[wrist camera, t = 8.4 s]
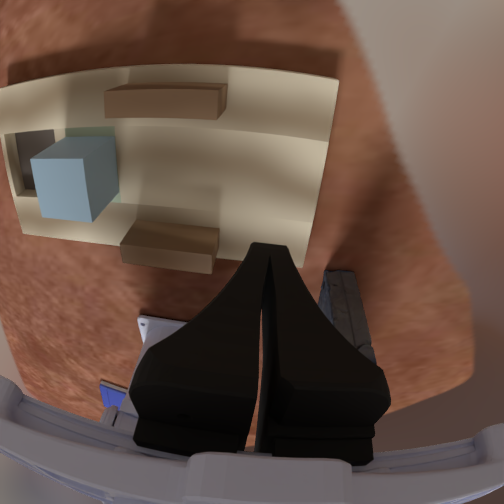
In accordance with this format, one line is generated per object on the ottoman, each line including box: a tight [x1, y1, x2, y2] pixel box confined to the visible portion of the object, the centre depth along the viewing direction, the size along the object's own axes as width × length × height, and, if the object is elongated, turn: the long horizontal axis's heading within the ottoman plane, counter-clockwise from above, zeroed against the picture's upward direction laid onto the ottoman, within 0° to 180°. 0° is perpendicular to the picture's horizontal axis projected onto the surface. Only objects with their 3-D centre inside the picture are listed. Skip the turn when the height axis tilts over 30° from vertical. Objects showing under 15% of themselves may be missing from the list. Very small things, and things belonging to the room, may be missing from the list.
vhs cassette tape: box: [318, 270, 377, 365], centre depth 26 cm, size 18×3×10 cm, turn 178°
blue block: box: [30, 136, 119, 223], centre depth 18 cm, size 4×4×4 cm
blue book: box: [100, 381, 127, 411], centre depth 43 cm, size 2×8×12 cm
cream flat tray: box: [0, 64, 339, 274], centre depth 19 cm, size 13×24×4 cm, turn 85°
